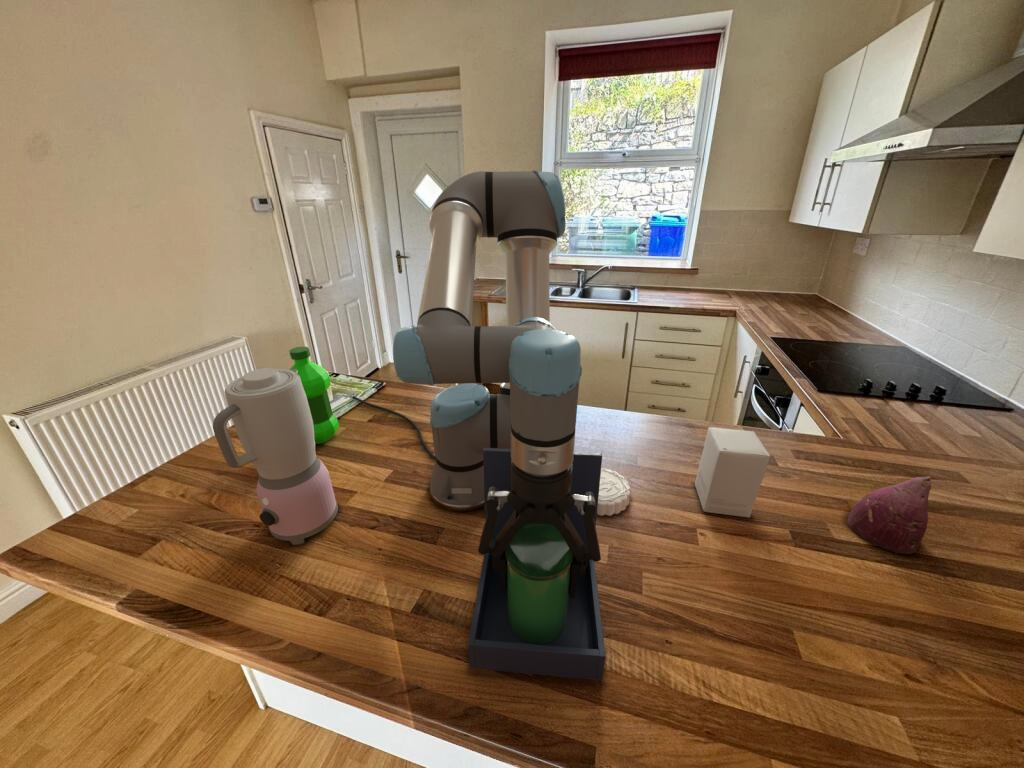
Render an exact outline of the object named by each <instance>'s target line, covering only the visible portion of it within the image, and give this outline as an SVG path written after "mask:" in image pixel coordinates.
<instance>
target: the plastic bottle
mask: <svg viewBox="0 0 1024 768" xmlns="http://www.w3.org/2000/svg"><path fill="white" fill-rule="evenodd" d="M288 352H289V353H288V354H289V356H290V359H291V360H293V361H294V364H293V365H292V366H291V367H290V368H289V369H296V370H298V373H297V374H298V375H299V376H300V379H301V382H302V385H303V388H304V391H305V394H306V397H307V400H308V404H309V408H310V412H311V416H312V420H313V426H314V438H315V445H318V444H323V443H324V444H325V443H326V442H328V441H330V440H331V439H332V438H333V437H334V435H335V434H336V433H337V431H338V430H339V428H340V427H339V426H340V423H339V420H338V419H337V417H336V415H335V414H334V412H333V409H332V405H331V400H330V396H329V391H328V389H329V388H330V386H331V382H332V381H331V375H330V374H329V372H328V371H327V370H326V369H325V368H324V366H322V365H319V364H317V363H316V362H313V361H310V358H309V357H311V355H312V354H311V351H310V348H309V347H308V346H304V345H303V346H296V347H293V348H290V349H289V350H288Z"/></svg>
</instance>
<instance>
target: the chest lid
mask: <svg viewBox="0 0 1024 768" xmlns="http://www.w3.org/2000/svg"><path fill="white" fill-rule="evenodd" d="M511 460H512V459H511V449H500V448H484V449H483V463H484V500H485V506H484V521H485V520H486V516H487V512H488V510H487V505H486V501H487V496H488V491H489V488H490V487H496V488H497V489H498V491H508V490H509V488H510V487H511ZM572 463H573V474H572V487H571V489H572V491H573V493H574V494H576V495H583V496H584V495H585V493H586V492H592V493H593V494H594V499H595V506H596V510H595V514H594V522H595V527H597V516H598V514H597V507H598V496H599V486H600V475H601V468H602V463H603V454H602V452H588V451H574V458H573V462H572ZM513 512H514V508H513V507H512V506H511V505H510V504H509V503H508V502H505V503H504V506H503V507H502V508H501V509H500V510H499V511H498V513H497V519H496V522H495V526H494V529H493V533H492V536H491V539H492V540H494V537H497V535H498V534H499V532H500V531H501V529H502V528H503V526H504V525H505V523H506V522H507V520H508V519H509V518H510V516H511V515H512V513H513ZM566 513H567V515H568V517H569V519H570V521H571V522H572V524H573V526H574V528H575V529H576V531H577V533H578V534H579V536H580V538H581V540H582V541H583V543H584V545H589V544H588V539H587V535H586V530H585V525H584V519H583V515H581V514H580V512H579V511H578V508H577V507H576V506H575V505H573V507H572V508H571V509H569V510H568V511H567V512H566ZM527 523H528V521H527ZM527 523H526V524H527ZM551 525H553V523H552V524H551Z"/></svg>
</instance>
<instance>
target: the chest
mask: <svg viewBox="0 0 1024 768" xmlns="http://www.w3.org/2000/svg"><path fill="white" fill-rule="evenodd" d="M595 563H596V562H595V561H593V560H588V561H587V568H585V576H584V577H583V578H580V577H577V579H576V590H575V598H570V597H569V598H568V610H567V621H566V625H565V628H564V630H563V632H562V633H561V634H560V635H559V637H557V638H556V639H555V640H553V641H551V642H549V643H545V644H532V643H528V642H526V641H524V640H522V639H520V638H519V637H518V636H517V635H516V634H515V633H514V632H513V631H512V629H511V627H510V625H509V623H508V618H507V589H506V593H502V592H501V580H500V572H494V571H493V565H492V556H491V555H490V554H489V553H486V554H483V559H482V564H481V570H480V575H479V581H478V587H477V591H476V597H475V604H474V608H473V614H472V619H471V625H470V631H469V636H468V641H467V651H468V662H469V669H474V670H475V669H476V670H486V671H487V670H488V671H496V672H497V671H498V672H509V673H510V672H511V673H521V674H530V675H531V674H533V675H542V676H543V675H544V676H555V677H567V678H577V679H589V680H601V681H603V675H604V670H605V664H606V657H607V656H606V647H605V640H604V630H603V623H602V614H601V605H600V597H599V589H598V588H599V587H598V579H597V573H596V564H595Z"/></svg>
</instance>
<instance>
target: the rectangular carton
mask: <svg viewBox="0 0 1024 768" xmlns="http://www.w3.org/2000/svg"><path fill="white" fill-rule="evenodd" d="M770 459H771V455H770V454H769V453H768V451H767V449H766V447H765V446H764V445H763V443H762V441H761V440H760V439H759V437H758V435H757V434H756V432H755V431H752V430H744V429H743V430H742V429H734V428H733V429H732V428H731V429H730V428H723V427H713V426H712V427H711V426H709V427H708V428H707V433H706V436H705V441H704V445H703V449H702V454H701V458H700V461H699V466H698V470H697V474H696V478H695V482H694V486H695V489H696V493H697V495H698V499H699V502H700V505H701V508H702V511H703V512H705V513H711V514H717V515H718V514H720V515H727V516H734V517H741V518H751V515H752V512H753V510H754V506H755V503H756V500H757V497H758V495H759V492H760V489H761V486H762V484H763V480H764V477H765V474H766V472H767V471H766V470H767V467H768V465H769V462H770Z"/></svg>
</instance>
